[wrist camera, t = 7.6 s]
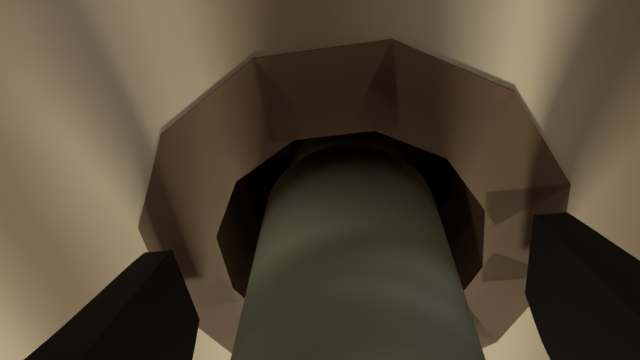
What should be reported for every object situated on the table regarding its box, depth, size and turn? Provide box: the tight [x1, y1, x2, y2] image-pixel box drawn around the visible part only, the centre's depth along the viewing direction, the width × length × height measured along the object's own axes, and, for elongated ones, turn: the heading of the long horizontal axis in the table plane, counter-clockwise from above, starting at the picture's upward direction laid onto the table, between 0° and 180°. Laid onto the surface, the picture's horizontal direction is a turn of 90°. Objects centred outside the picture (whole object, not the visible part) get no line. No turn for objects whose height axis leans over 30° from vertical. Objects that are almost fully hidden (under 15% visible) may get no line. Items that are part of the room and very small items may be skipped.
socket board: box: [0, 0, 640, 360], centre depth 11 cm, size 20×12×3 cm, turn 98°
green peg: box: [231, 131, 486, 360], centre depth 9 cm, size 4×4×8 cm
